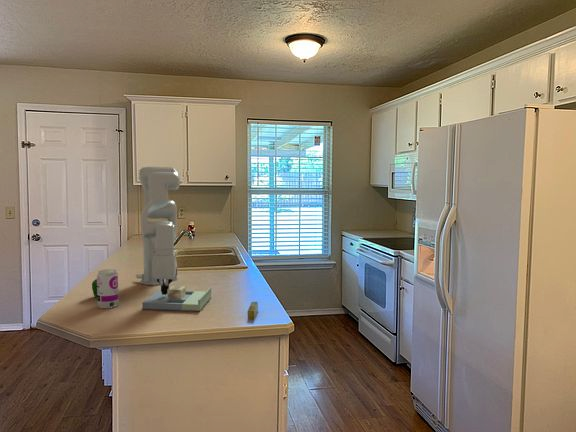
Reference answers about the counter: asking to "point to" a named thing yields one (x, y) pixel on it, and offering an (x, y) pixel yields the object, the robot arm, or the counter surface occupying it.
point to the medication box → (252, 311)
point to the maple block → (176, 292)
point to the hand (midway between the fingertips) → (165, 293)
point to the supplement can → (107, 288)
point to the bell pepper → (94, 287)
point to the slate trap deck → (178, 301)
